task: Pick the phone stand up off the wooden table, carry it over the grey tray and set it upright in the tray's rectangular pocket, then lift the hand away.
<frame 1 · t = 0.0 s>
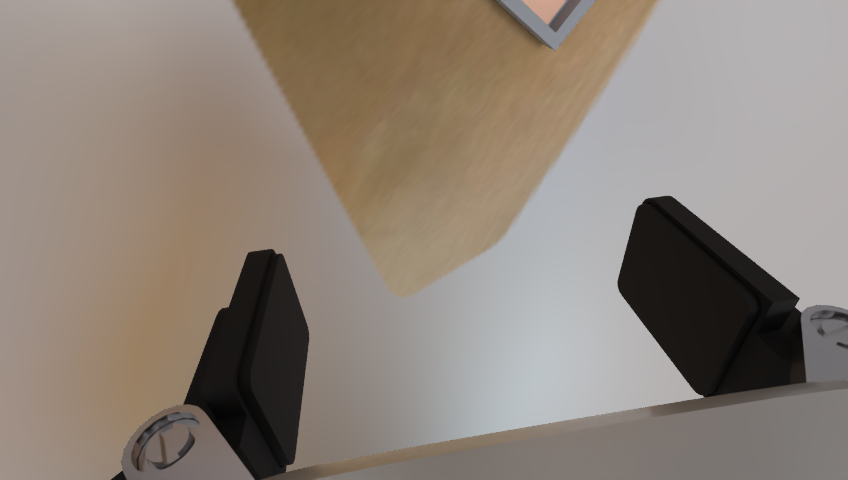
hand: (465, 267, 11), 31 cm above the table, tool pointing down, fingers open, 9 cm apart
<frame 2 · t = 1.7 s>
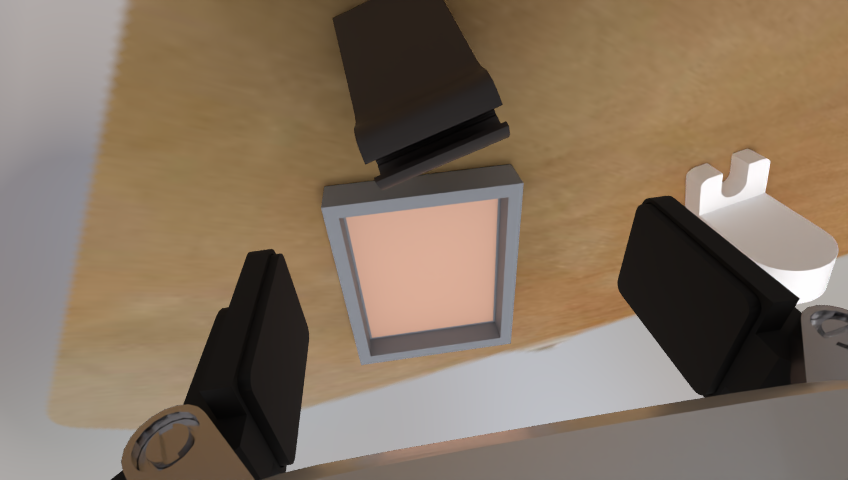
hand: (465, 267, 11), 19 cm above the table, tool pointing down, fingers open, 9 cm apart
cable organizer: (713, 205, 36), on the table
grey tray: (426, 263, 36), on the table
phone stand: (409, 68, 27), on the table
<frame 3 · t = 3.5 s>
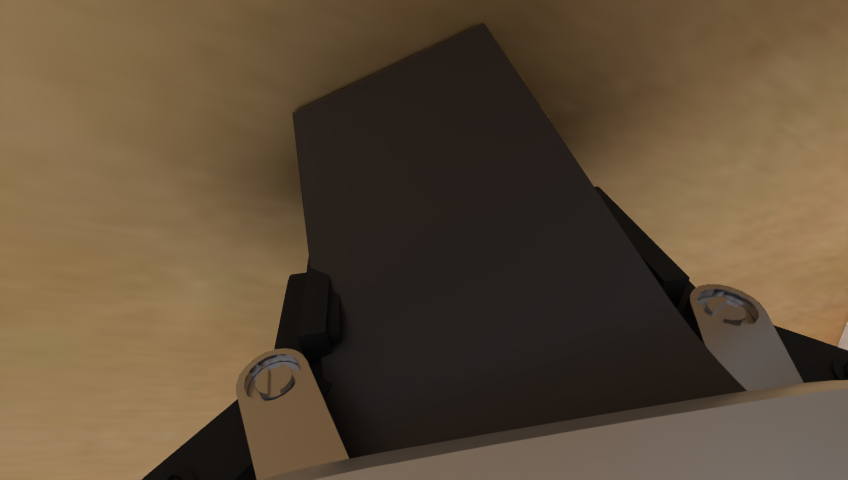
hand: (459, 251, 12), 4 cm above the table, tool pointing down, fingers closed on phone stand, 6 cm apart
phone stand: (438, 186, 15), on the table, touching gripper
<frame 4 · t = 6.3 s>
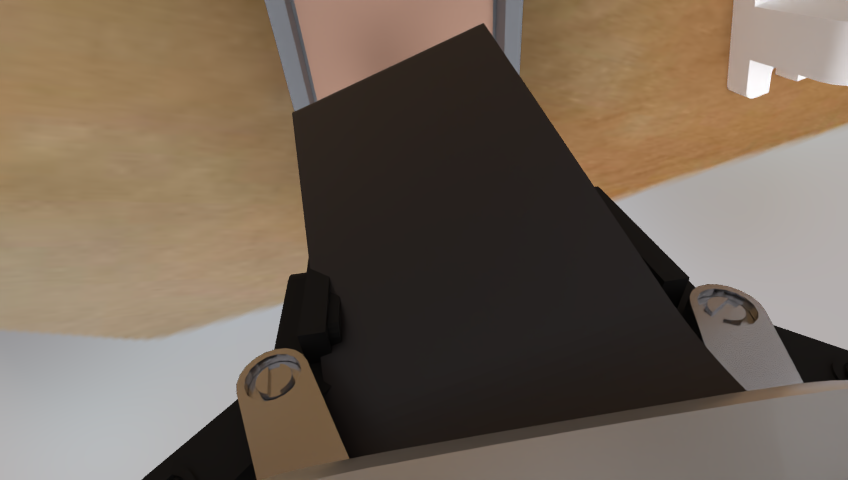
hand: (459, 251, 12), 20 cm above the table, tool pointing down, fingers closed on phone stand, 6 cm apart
cable organizer: (767, 9, 29), on the table
grey tray: (404, 85, 28), on the table
phone stand: (438, 186, 15), point 16 cm above the table, touching gripper
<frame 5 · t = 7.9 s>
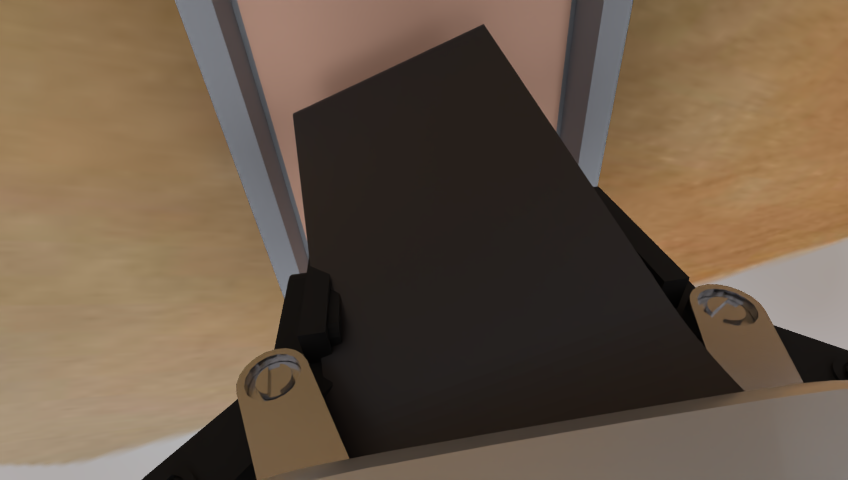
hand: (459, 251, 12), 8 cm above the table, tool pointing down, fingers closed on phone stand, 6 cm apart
grey tray: (420, 141, 19), on the table
phone stand: (438, 187, 15), point 5 cm above the table, touching gripper
when the fingers open (5 cm above the table, at t = 9.1 s): phone stand stays where it is, resting on grey tray.
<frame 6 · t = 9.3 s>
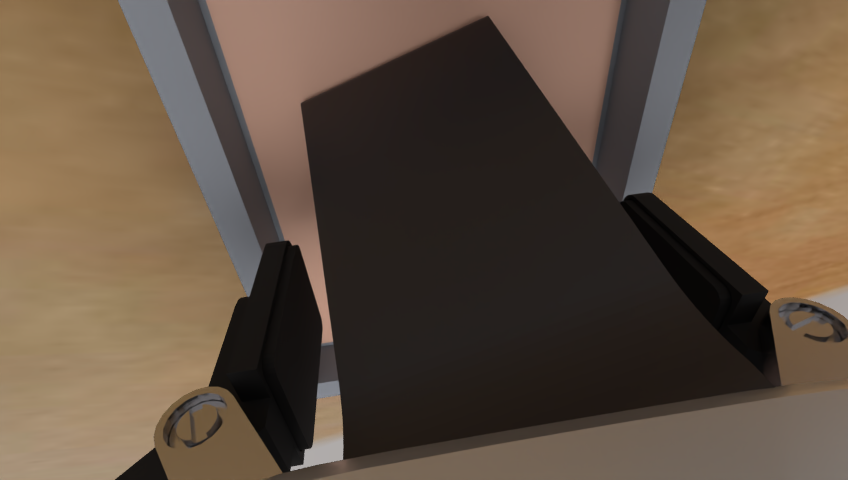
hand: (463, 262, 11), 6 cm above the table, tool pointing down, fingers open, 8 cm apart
grey tray: (432, 172, 16), on the table
phone stand: (442, 178, 15), point 1 cm above the table, touching grey tray
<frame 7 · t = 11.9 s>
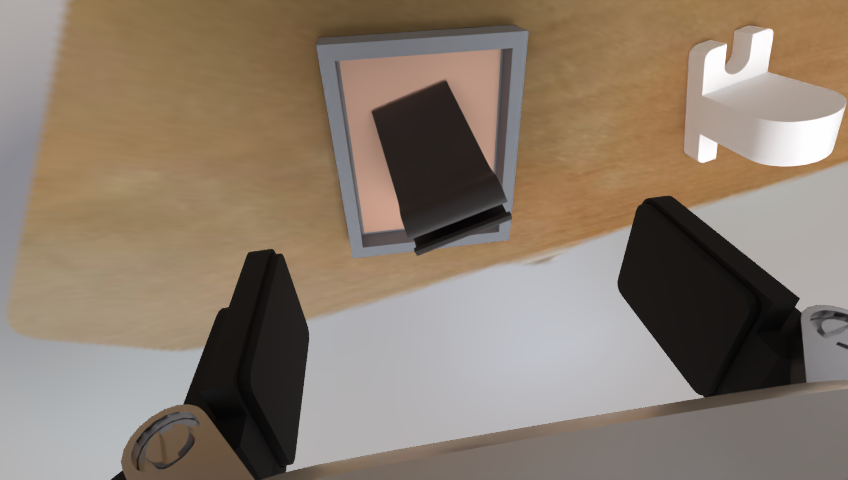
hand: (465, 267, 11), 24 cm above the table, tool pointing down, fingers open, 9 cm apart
cable organizer: (714, 94, 36), on the table
grey tray: (423, 144, 34), on the table
phone stand: (427, 146, 34), point 1 cm above the table, touching grey tray
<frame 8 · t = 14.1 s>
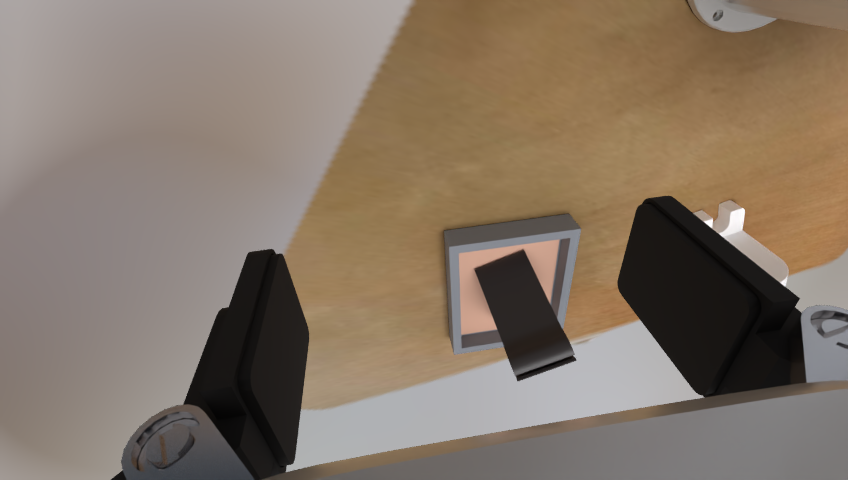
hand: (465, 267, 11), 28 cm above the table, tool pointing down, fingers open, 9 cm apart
cable organizer: (706, 237, 51), on the table
grey tray: (504, 280, 50), on the table
phone stand: (508, 283, 50), point 1 cm above the table, touching grey tray
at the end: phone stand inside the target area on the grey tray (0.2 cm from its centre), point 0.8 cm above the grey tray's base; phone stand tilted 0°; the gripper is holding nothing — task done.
